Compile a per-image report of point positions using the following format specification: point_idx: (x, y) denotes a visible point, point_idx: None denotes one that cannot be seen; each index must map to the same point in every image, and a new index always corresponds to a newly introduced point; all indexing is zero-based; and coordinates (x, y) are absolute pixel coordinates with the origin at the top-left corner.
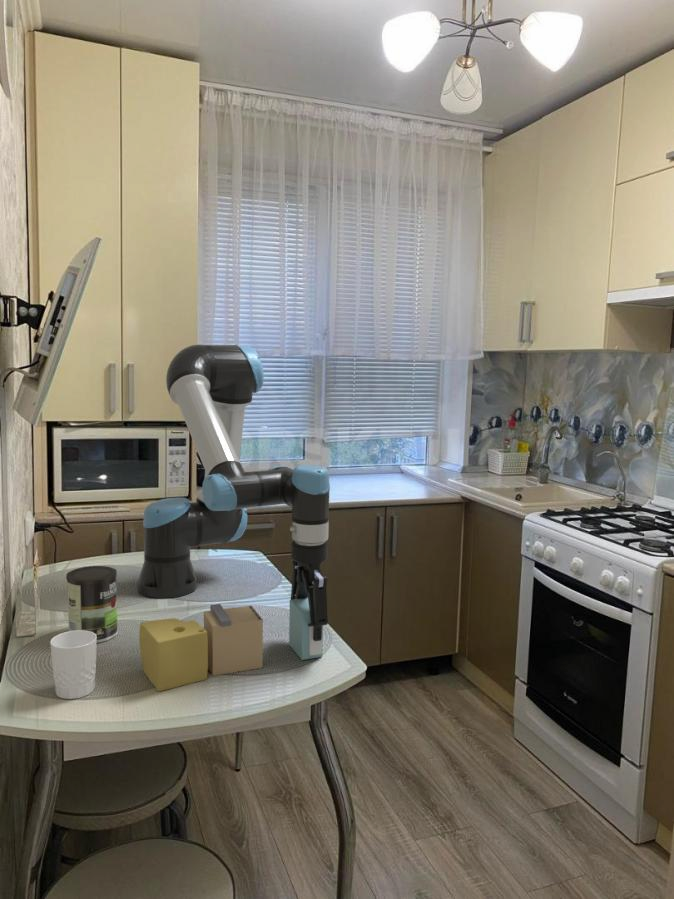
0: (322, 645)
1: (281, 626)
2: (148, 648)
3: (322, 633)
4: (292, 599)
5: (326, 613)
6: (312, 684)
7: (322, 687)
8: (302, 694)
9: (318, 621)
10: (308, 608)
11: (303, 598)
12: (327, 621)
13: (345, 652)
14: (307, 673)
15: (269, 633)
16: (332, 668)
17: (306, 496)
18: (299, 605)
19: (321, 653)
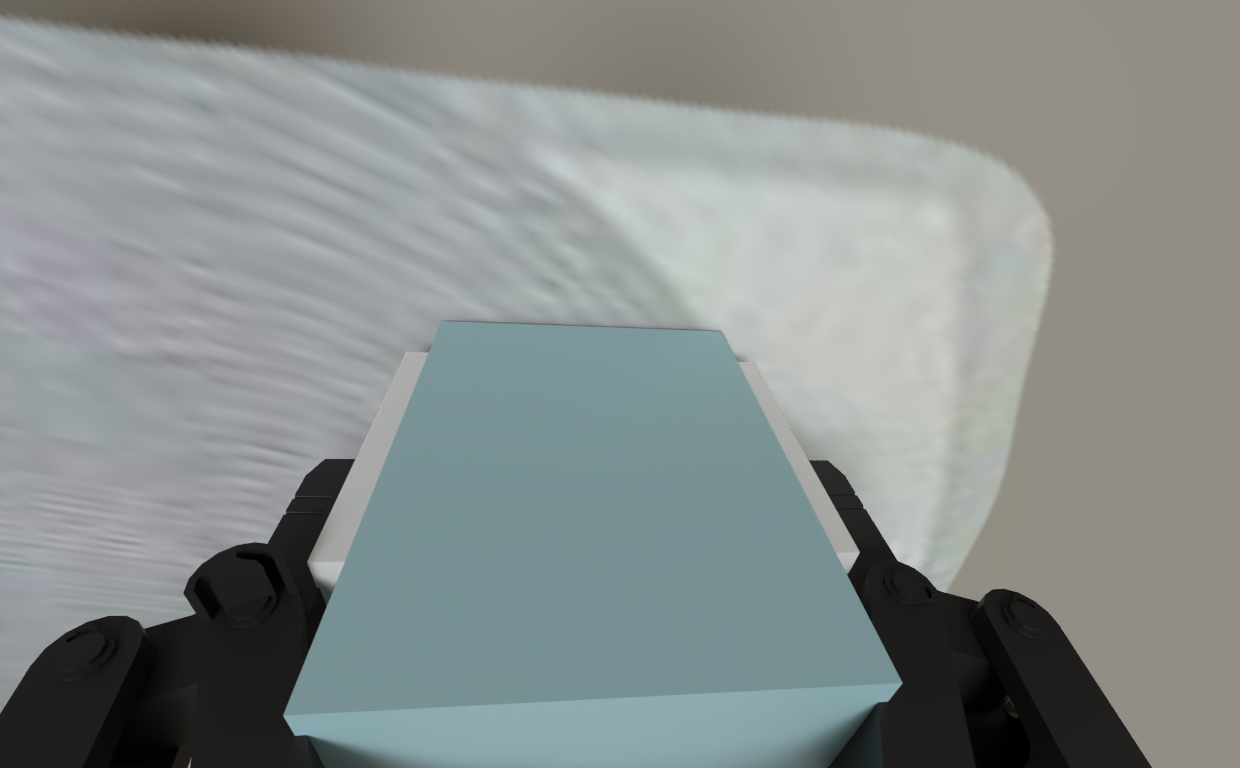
0: (744, 377)
1: (82, 389)
2: None
3: (778, 447)
4: None
5: (1129, 750)
6: (936, 474)
7: (994, 448)
8: (967, 526)
9: (1013, 707)
10: (721, 765)
11: (328, 762)
12: (1061, 635)
13: (740, 121)
14: (833, 460)
15: (232, 484)
16: (881, 330)
17: None
18: None
19: (752, 366)
